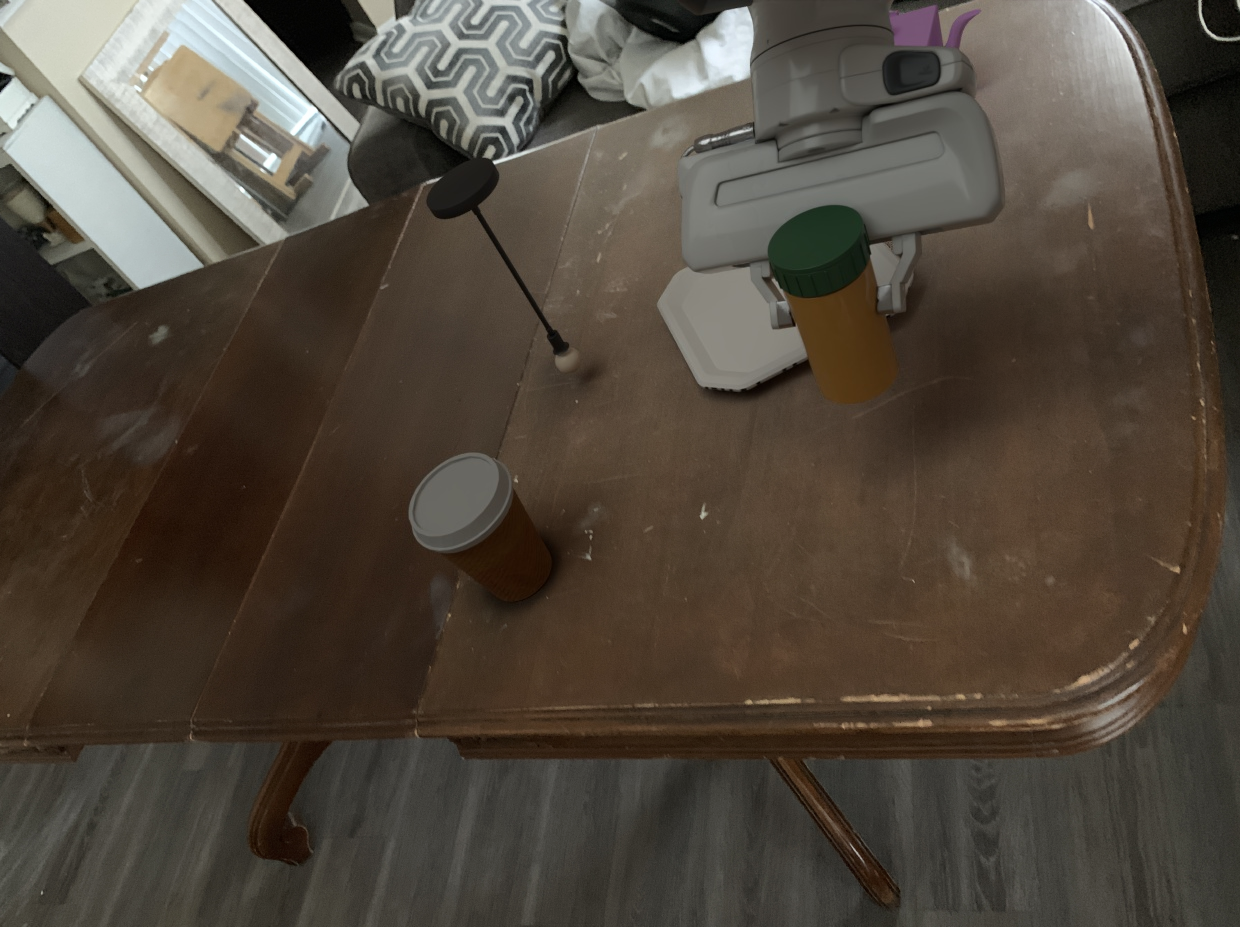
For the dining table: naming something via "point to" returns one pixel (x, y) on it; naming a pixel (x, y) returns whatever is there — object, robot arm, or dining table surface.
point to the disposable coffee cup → (480, 525)
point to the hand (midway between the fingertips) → (837, 321)
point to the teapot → (927, 27)
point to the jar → (847, 340)
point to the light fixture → (490, 232)
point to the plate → (739, 325)
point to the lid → (819, 251)
